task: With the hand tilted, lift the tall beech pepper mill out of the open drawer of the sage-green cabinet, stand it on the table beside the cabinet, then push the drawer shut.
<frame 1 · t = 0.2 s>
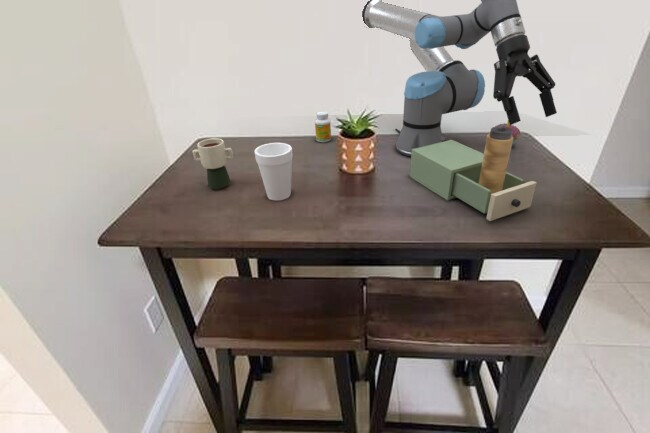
hand: (533, 119, 99), 15 cm above the table, tool tilted 35°, fingers open, 13 cm apart
foam cup: (279, 195, 103), on the table
drawer: (490, 189, 91), point 4 cm above the table, slide at 12.0 cm, touching pepper mill
pepper mill: (488, 196, 92), point 2 cm above the table, touching drawer
cabinet: (447, 182, 104), on the table
supplement bottle: (323, 140, 137), on the table
character mug: (220, 186, 109), on the table
cupcake: (502, 146, 124), on the table
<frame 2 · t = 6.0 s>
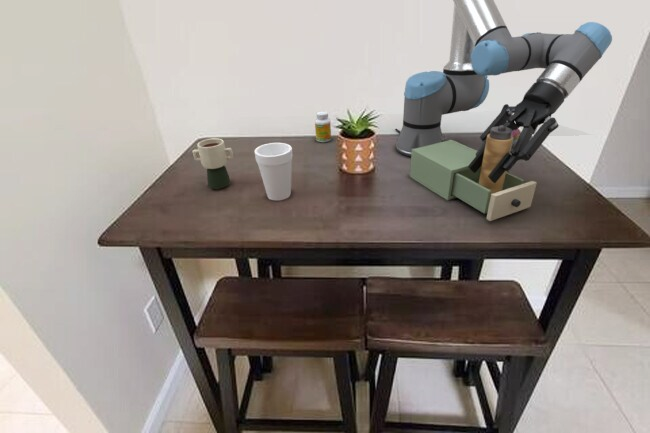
hand: (481, 174, 88), 9 cm above the table, tool tilted 45°, fingers closed on pepper mill, 5 cm apart
pepper mill: (488, 196, 92), point 2 cm above the table, touching drawer, gripper
everything else where it was.
when the fingers open (7 cm above the table, at t = 14.5 s): pepper mill stays where it is, on the table.
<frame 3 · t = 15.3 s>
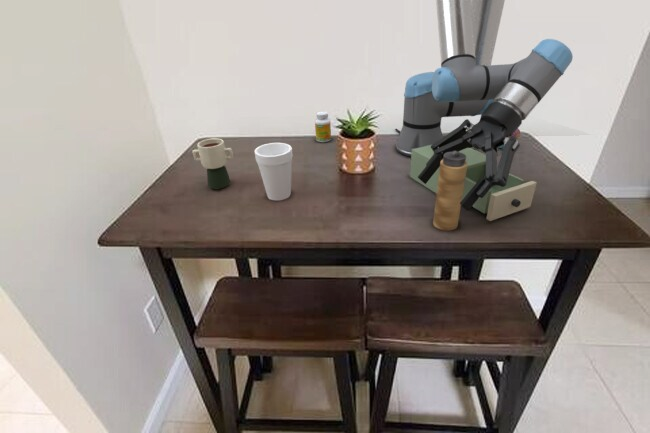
hand: (441, 193, 82), 9 cm above the table, tool tilted 45°, fingers open, 13 cm apart
drawer: (490, 189, 91), point 4 cm above the table, slide at 12.0 cm
pepper mill: (445, 224, 87), on the table
everything else where it was.
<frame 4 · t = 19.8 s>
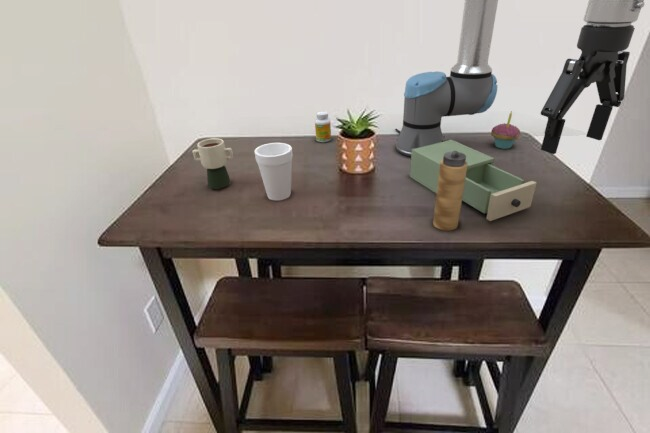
hand: (571, 144, 75), 19 cm above the table, tool pointing down, fingers open, 13 cm apart
nothing on the table moved.
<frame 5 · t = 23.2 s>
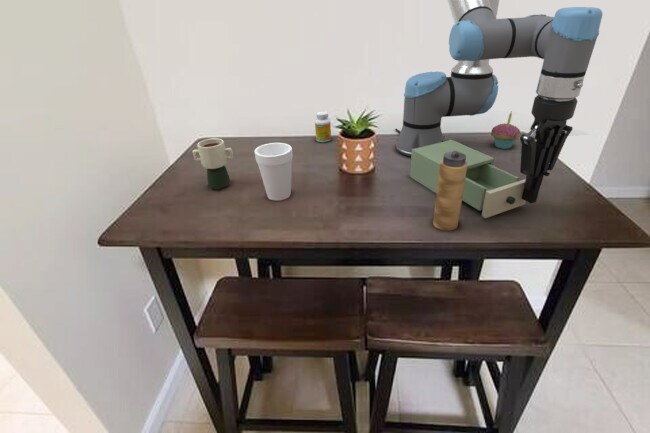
hand: (528, 200, 88), 3 cm above the table, tool pointing down, fingers closed
drawer: (486, 187, 92), point 4 cm above the table, slide at 10.6 cm, touching gripper
everything else where it was.
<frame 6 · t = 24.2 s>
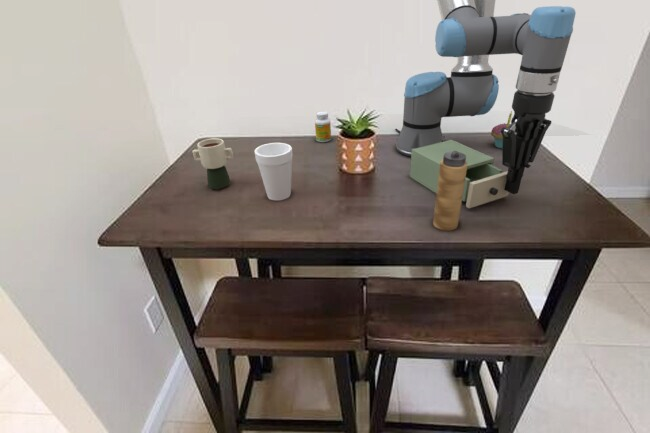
hand: (511, 191, 92), 3 cm above the table, tool pointing down, fingers closed
drawer: (471, 179, 96), point 4 cm above the table, slide at 5.5 cm, touching gripper
everything else where it was.
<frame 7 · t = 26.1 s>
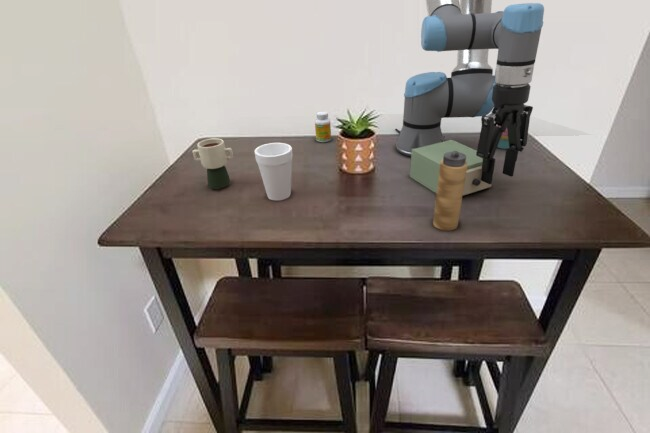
hand: (497, 178, 96), 4 cm above the table, tool pointing down, fingers open, 6 cm apart
drawer: (455, 171, 100), point 4 cm above the table, slide at 0.0 cm, touching cabinet, gripper
everything else where it was.
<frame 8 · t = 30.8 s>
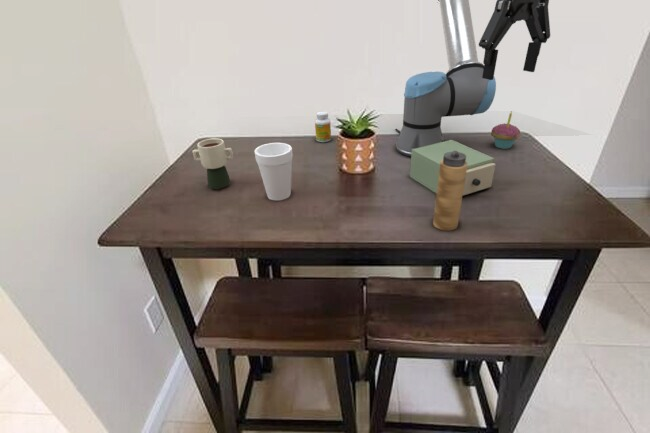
hand: (508, 75, 93), 27 cm above the table, tool pointing down, fingers open, 13 cm apart
drawer: (455, 171, 100), point 4 cm above the table, slide at 0.0 cm
everything else where it was.
at the end: pepper mill inside the target area (0.1 cm from its centre), on the table; pepper mill tilted 0°; drawer slide at 0.0 cm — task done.
